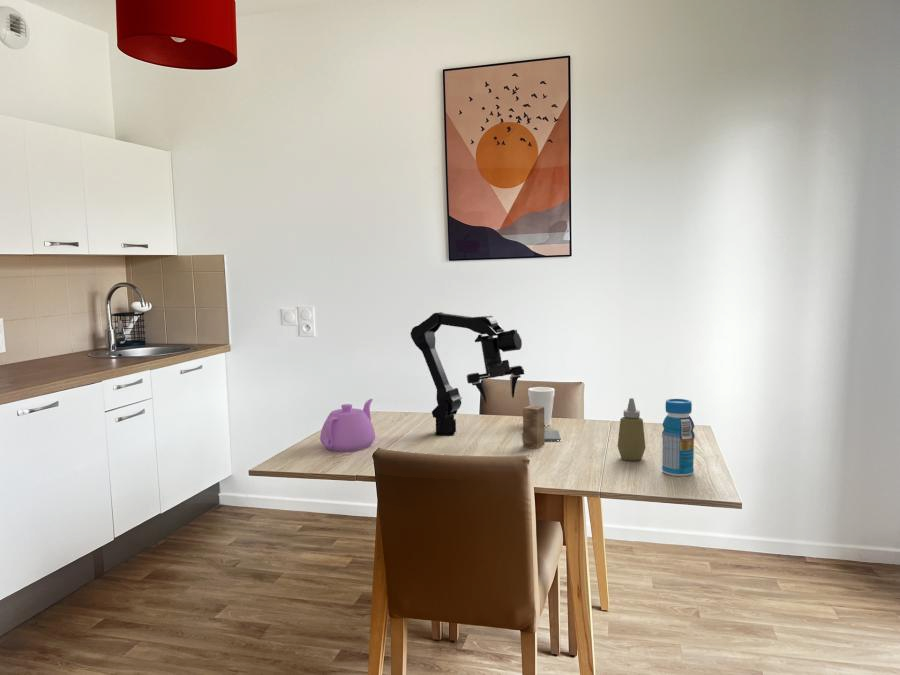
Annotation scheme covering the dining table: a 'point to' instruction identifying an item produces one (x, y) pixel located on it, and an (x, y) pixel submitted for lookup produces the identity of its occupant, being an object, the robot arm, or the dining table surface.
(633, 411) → the squeeze bottle
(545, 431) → the slate coaster
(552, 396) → the foam cup
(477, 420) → the dining table surface
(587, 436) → the dining table surface
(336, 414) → the teapot
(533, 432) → the walnut block
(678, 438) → the beverage bottle
